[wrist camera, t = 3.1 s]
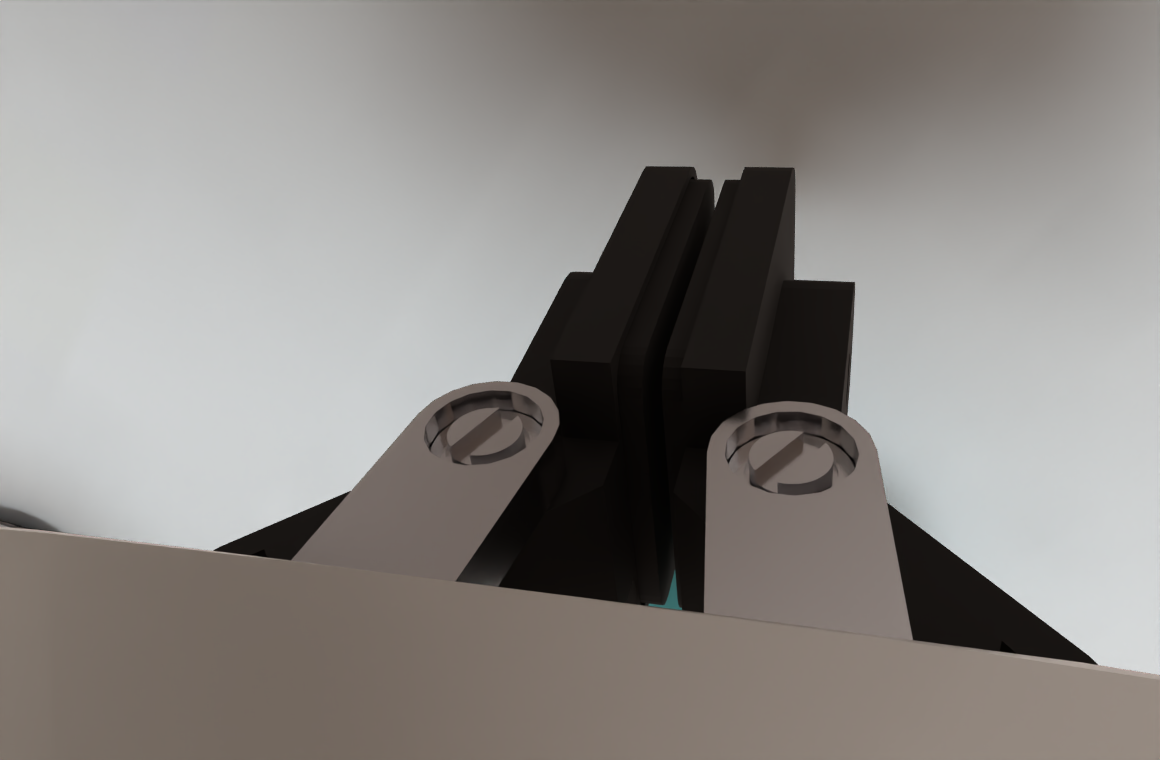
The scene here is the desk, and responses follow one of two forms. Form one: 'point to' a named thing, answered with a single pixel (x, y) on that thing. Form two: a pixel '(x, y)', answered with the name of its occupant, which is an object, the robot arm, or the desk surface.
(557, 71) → the desk surface
